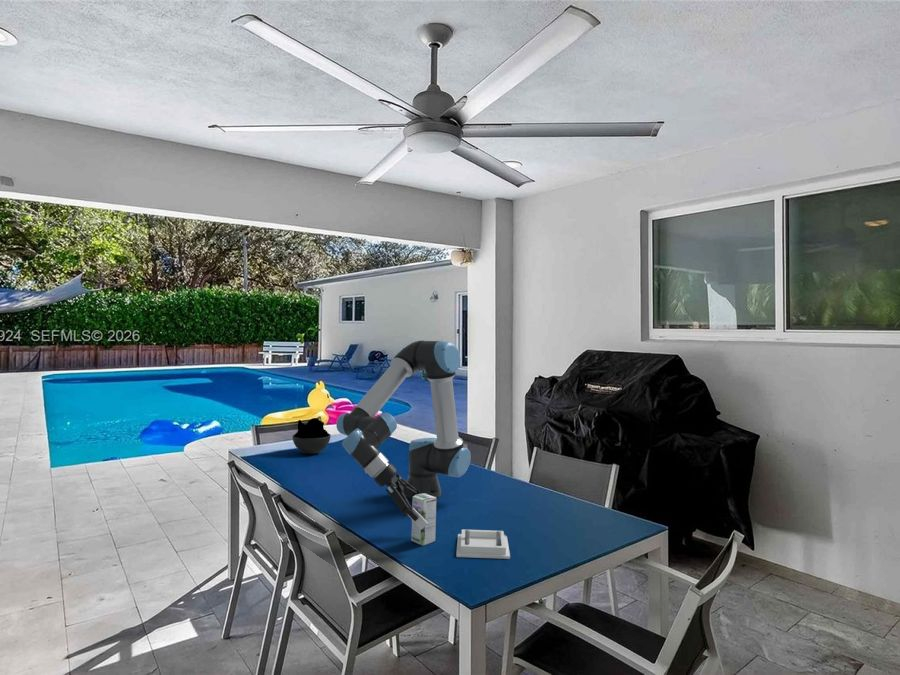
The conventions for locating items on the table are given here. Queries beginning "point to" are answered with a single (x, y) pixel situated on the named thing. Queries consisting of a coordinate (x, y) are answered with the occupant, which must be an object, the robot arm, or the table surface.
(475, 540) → the tray
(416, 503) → the syrup box
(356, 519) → the table surface
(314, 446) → the coal bowl
